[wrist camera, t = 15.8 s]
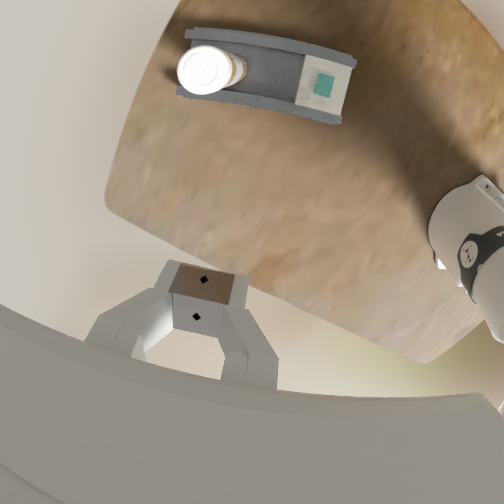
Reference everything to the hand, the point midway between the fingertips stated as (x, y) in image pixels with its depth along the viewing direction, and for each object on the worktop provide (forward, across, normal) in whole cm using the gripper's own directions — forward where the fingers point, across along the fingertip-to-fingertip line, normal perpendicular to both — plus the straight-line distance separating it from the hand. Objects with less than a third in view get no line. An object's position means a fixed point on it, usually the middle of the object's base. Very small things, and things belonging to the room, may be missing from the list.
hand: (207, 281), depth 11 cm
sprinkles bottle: (+30, +5, -6) cm, 31 cm away
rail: (+31, +1, -7) cm, 32 cm away
